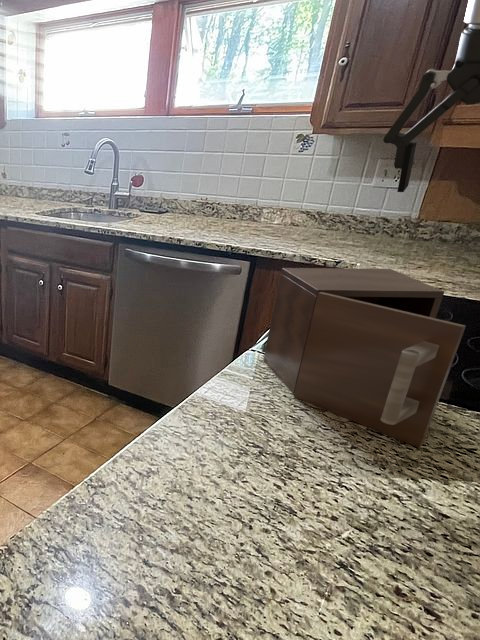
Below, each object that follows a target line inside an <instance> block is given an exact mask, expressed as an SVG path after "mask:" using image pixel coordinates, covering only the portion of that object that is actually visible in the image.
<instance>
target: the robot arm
mask: <svg viewBox="0 0 480 640" xmlns="http://www.w3.org/2000/svg"><path fill="white" fill-rule="evenodd" d="M463 22H464V23H465V24H466V25H468V26H466V27H465V28H464V29H463V30H462V31H461V34H460V38H459V43H458V47H457V52H456V57H455V60H454V64H453V67H452V68H451V70H439V69H438V68H436V67H431V68H429V69H428V70H427V71H426V72H425V73H424V74H423V75H422V77H421V80H420V83H419V87H418V90H417V92H416V93H415V94H414V95H413V97H412V98H411V99H410V101H409V102H408V104H407V105H406V107H405V108H404V109H403V110H402V111H401V113H400V115H399V116H398V117H397V119H396V120H395V122H394V123H393V124H392V126H391V127H390V129H389V130H388V132H386V134H385V136H384V137H383V139H382V141H383V143H384V144H392V145H394V146H395V147H396V151H395V157H394V161H393V167H394V169H401V170H400V176H399V181H398V186H397V193H404V192H405V191H406V189H407V188H408V187H409V184H410V179H411V173H412V168H413V163H414V158H415V153H416V149H417V144H418V142H416V141H413V140H415V138H417V137H418V136H419V135H420V134H422V133H423V132H424V131H425V130H427V128H428V127H430V126H431V125H432V124H433V123H434V122H435V121H437V120H438V119H439V118H440V117H441V116H442V115H444V114H445V113H446V112H448V111H449V110H450V109H451V108H453V106H454V105H456V104H457V103H458V102H461V103H463V104H465V106H467V105H468V106H470V105H477V104H480V0H468V2H467V7H466V11H465V16H464V20H463ZM444 81H446V83H447V84H448V86H449V87H450V89H451V91H452V92H451V93H450V94H449V95H447V96H446V97H445V98H444V99H443V100H442V101H441V102H440V103H438V104H437V105H436V106H435V107H434V108H433V109H432V110H431V111H429V112H428V113H427V114H426V115H425V116H424V117H422V119H420V120H419V121H418V122H417V123H416V124H415V125H413V126H412V127H411V128H410V129H409V130H408V131H406V132H405V133H401V131H402V130H403V128H404V127H405V125H406V124H407V123H408V121H409V120H410V119H411V117H413V115H414V113H415V112H416V111H417V109H418V108H419V107H420V105H421V104H422V102H423V101H424V100H425V99H426V97H427V96H428V95H429V93H430V92H431V90H435V89H437V88H438V87H439V86H440V84H441V83H443V82H444Z"/></svg>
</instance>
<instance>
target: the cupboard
mask: <svg viewBox="0 0 480 640" xmlns="http://www.w3.org/2000/svg"><path fill="white" fill-rule="evenodd" d="M320 292H324V293H329V294H333V295H337V296H341V297H346V298H350V299H354V300H359V301H363V302H367V303H371V304H376V305H380V306H384V307H388V308H393V309H397V310H401V311H406V312H410V313H414V314H418V315H423V316H427V317H431V318H436V319H437V315H438V312H439V310H440V306H441V303H442V300H443V298H444V294H445V291H444V290H442V289H439V288H437V287H435V286H433V285H430V284H428V283H425V282H422V281H420V280H419V279H416V278H414V277H411V276H409V275H406V274H404V273H401V272H398V270H397V271H396V270H394V269H392V268H351V267H349V268H348V267H347V268H346V267H345V268H344V267H343V268H342V267H341V268H338V267H337V268H336V267H335V268H333V267H330V268H329V267H282V268H281V271H280V276H279V281H278V286H277V290H276V295H275V299H274V300H275V301H274V304H273V310H272V315H271V320H270V325H269V329H268V335H267V339H266V344H265V349H264V354H263V360H262V362H264V363H265V364H266V366H267V367H268V368H269V369H270V370H271V371H272V372H273V373H274V374H275V376H276V377H277V378H278V379H279V380H280V381H281V382H282V383H283V384H284V386H285V387H286V388H287V389H288V390H289V391H290V393H291V394H292V395H294V393H295V389H296V384H297V380H298V376H299V372H300V368H301V363H302V359H303V355H304V351H305V347H306V342H307V338H308V334H309V330H310V326H311V321H312V317H313V313H314V309H315V304H316V300H317V296H318V293H320Z"/></svg>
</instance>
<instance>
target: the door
mask: <svg viewBox="0 0 480 640" xmlns="http://www.w3.org/2000/svg"><path fill="white" fill-rule="evenodd" d="M466 327H467V326H466V324H460V323H456V322H452V321H448V320H444V319H439V318H437V317H436V318H431V317H427V316H423V315H418V314H414V313H410V312H406V311H401V310H397V309H393V308H388V307H384V306H380V305H376V304H371V303H367V302H363V301H359V300H354V299H350V298H346V297H341V296H337V295H333V294H329V293H324V292H320V293H318V296H317V300H316V304H315V309H314V313H313V317H312V321H311V326H310V330H309V334H308V338H307V342H306V347H305V351H304V355H303V359H302V363H301V368H300V372H299V376H298V380H297V384H296V389H295V393H294V394H293V398H296V399H298V400H301V401H303V402H306V403H308V404H311V405H313V406H315V407H318V408H321V409H323V410H325V411H327V412H330V413H332V414H335V415H337V416H340V417H343V418H345V419H347V420H349V421H352V422H355V423H357V424H360V425H361V426H364V427H367V428H370V429H371V430H373V431H377V432H379V433H382V434H384V435H386V436H389V437H391V438H394V439H396V440H399V441H401V442H403V443H405V444H408V445H410V446H414V447H416V448H421V447H422V446H423V445H424V442H425V439H426V437H427V434H428V431H429V428H430V426H431V423H432V420H433V417H434V415H435V412H436V409H437V406H438V405H439V401H440V398H441V396H442V393H443V390H444V388H445V384H446V382H447V380H448V376H449V374H450V372H451V368H452V366H453V363H454V360H455V357H456V355H457V352H458V349H459V346H460V343H461V340H462V339H463V336H464V333H465V332H464V331H465V329H466Z"/></svg>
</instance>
